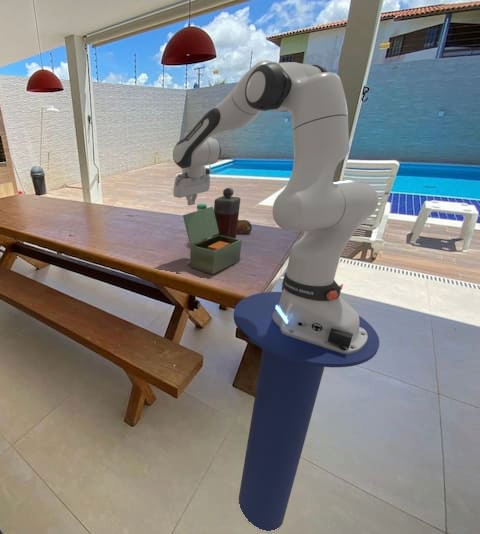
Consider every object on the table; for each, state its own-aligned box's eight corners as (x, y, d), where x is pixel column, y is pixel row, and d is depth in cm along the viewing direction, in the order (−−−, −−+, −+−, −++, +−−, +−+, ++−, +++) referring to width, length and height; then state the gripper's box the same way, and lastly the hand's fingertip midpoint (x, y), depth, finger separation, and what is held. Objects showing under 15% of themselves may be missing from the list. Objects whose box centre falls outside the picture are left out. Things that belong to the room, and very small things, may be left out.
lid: (212, 206, 137) (211, 206, 138) (184, 214, 126) (182, 215, 127) (219, 233, 138) (217, 233, 139) (191, 244, 127) (189, 244, 128)
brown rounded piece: (221, 234, 169) (222, 220, 166) (221, 232, 172) (222, 218, 168) (250, 236, 165) (252, 221, 161) (250, 234, 167) (252, 219, 164)
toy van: (228, 260, 133) (230, 243, 130) (217, 267, 128) (218, 249, 125) (218, 257, 137) (219, 241, 134) (206, 263, 132) (207, 246, 129)
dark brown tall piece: (237, 241, 157) (244, 186, 145) (227, 248, 149) (233, 190, 137) (221, 238, 162) (226, 184, 150) (210, 244, 155) (215, 188, 143)
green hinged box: (239, 261, 134) (241, 240, 131) (212, 274, 123) (214, 251, 120) (216, 254, 143) (218, 234, 139) (189, 266, 132) (190, 245, 128)
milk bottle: (189, 243, 159) (190, 205, 151) (197, 238, 164) (199, 202, 155) (202, 246, 154) (204, 207, 146) (210, 242, 159) (213, 204, 150)
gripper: (182, 175, 120) (181, 210, 126) (213, 169, 132) (211, 201, 137) (170, 174, 125) (169, 208, 130) (201, 168, 136) (199, 200, 142)
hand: (191, 204), depth 134 cm, fingers closed
